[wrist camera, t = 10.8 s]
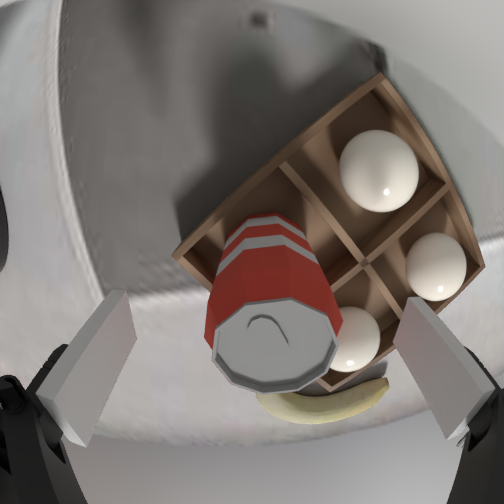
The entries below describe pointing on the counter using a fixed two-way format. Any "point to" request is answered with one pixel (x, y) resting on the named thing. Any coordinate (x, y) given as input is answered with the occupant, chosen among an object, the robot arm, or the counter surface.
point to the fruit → (324, 403)
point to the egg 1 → (378, 171)
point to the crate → (346, 213)
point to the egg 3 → (435, 266)
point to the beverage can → (271, 309)
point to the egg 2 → (356, 340)
